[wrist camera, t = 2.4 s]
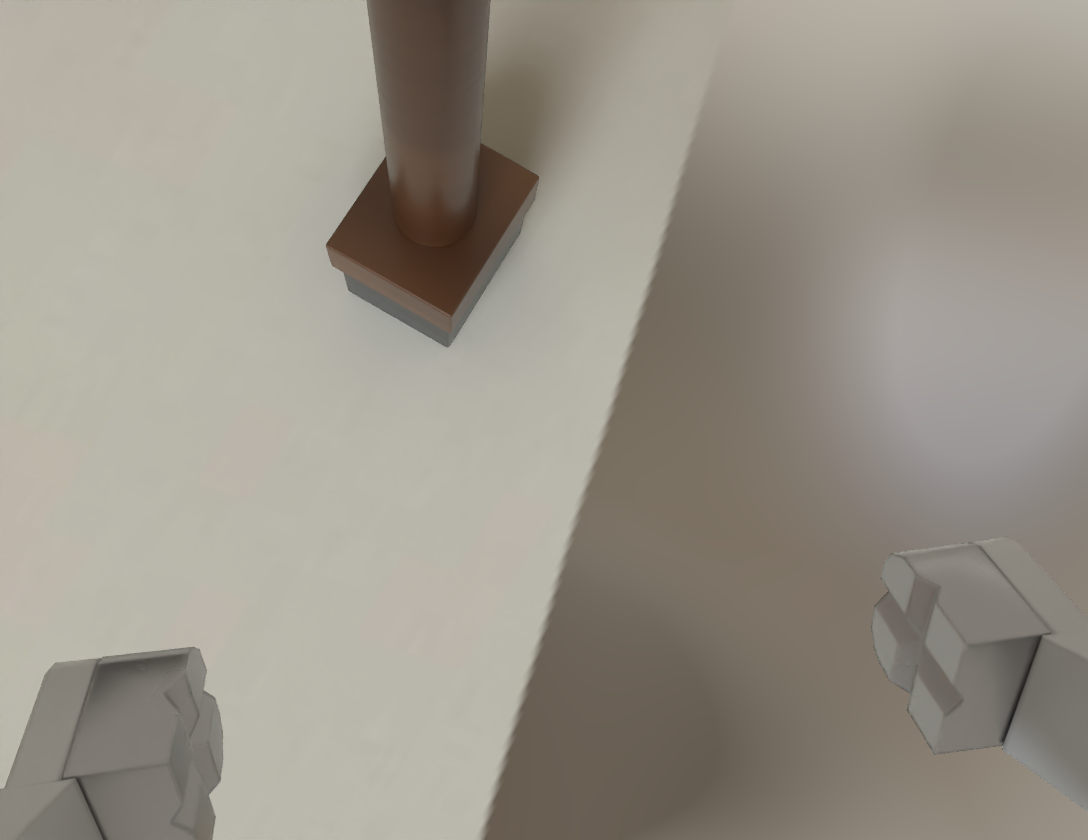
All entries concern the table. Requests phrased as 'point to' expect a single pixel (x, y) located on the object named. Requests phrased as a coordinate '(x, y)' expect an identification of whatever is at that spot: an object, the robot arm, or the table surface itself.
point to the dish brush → (431, 172)
